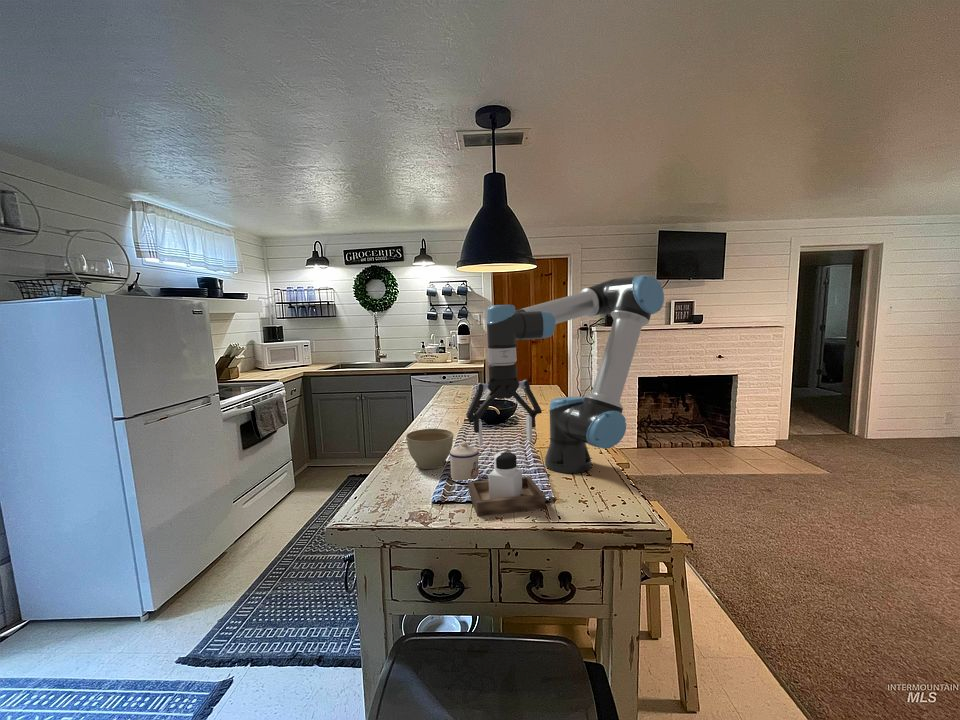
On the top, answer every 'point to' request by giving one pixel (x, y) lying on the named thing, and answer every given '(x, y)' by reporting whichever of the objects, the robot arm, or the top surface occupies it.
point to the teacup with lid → (464, 462)
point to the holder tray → (506, 499)
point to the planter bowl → (430, 447)
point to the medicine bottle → (505, 477)
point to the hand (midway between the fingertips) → (505, 441)
